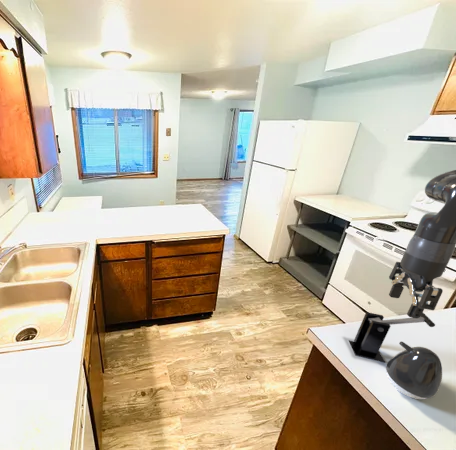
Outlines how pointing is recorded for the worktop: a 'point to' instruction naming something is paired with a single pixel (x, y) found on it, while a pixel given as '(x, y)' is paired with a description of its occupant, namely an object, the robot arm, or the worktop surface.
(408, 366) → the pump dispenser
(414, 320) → the lever
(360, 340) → the bracket
